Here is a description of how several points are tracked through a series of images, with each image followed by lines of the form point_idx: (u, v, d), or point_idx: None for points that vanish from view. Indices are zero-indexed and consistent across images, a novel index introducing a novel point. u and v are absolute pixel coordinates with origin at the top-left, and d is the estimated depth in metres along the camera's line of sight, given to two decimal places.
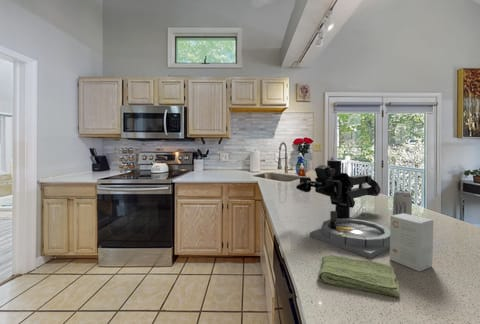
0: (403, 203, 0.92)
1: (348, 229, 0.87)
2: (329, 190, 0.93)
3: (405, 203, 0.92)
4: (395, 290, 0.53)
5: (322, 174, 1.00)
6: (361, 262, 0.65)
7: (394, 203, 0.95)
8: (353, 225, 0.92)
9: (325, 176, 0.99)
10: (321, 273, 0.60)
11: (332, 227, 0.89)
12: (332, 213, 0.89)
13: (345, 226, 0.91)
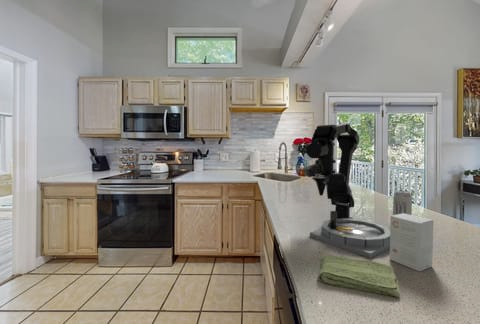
0: (403, 203, 0.92)
1: (348, 229, 0.87)
2: (332, 182, 0.91)
3: (405, 203, 0.92)
4: (395, 290, 0.53)
5: None
6: (361, 262, 0.64)
7: (394, 203, 0.95)
8: (353, 225, 0.92)
9: None
10: (321, 273, 0.60)
11: (332, 227, 0.89)
12: (332, 213, 0.89)
13: (345, 226, 0.91)
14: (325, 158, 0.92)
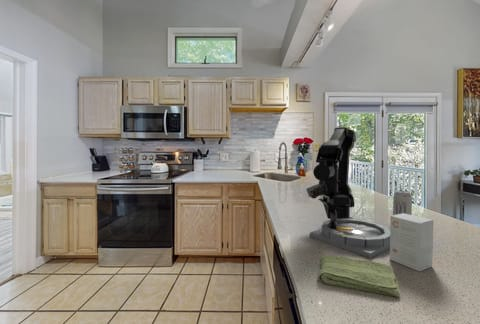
0: (403, 203, 0.92)
1: (348, 229, 0.87)
2: None
3: (405, 203, 0.92)
4: (395, 290, 0.53)
5: None
6: (360, 262, 0.64)
7: (394, 203, 0.95)
8: (353, 225, 0.92)
9: None
10: (321, 274, 0.60)
11: (332, 227, 0.89)
12: (332, 213, 0.89)
13: (345, 226, 0.91)
14: (329, 179, 0.89)
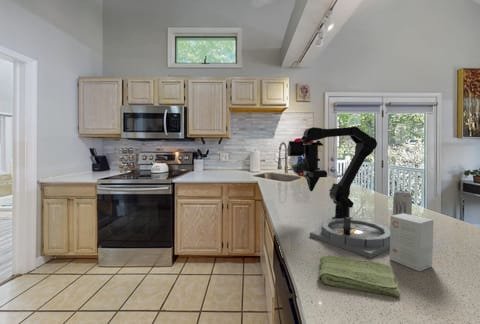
0: (403, 203, 0.92)
1: (354, 231, 0.85)
2: (314, 177, 1.07)
3: (405, 203, 0.92)
4: (395, 290, 0.54)
5: None
6: (359, 262, 0.65)
7: (394, 203, 0.95)
8: (339, 227, 0.90)
9: None
10: (321, 274, 0.59)
11: None
12: (349, 220, 0.81)
13: (342, 230, 0.87)
14: (310, 157, 1.06)
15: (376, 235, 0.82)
